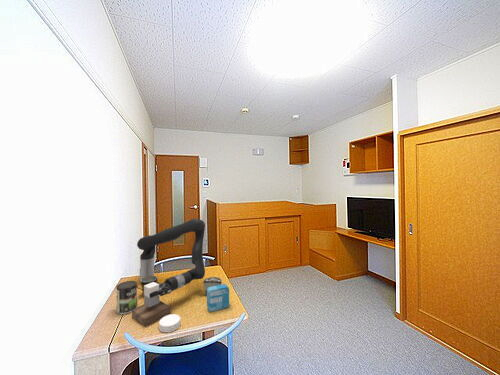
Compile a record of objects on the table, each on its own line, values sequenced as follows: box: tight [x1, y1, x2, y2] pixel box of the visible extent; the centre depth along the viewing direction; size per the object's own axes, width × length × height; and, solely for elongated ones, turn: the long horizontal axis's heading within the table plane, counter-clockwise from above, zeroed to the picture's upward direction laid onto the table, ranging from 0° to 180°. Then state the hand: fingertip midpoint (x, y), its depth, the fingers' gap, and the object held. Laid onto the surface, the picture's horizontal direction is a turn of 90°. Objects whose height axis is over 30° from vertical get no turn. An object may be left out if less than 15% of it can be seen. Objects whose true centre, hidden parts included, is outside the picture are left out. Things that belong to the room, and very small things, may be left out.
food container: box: [202, 276, 223, 297], centre depth 140 cm, size 12×6×10 cm, turn 84°
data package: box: [206, 283, 230, 313], centre depth 123 cm, size 12×4×12 cm, turn 115°
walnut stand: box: [131, 299, 172, 328], centre depth 117 cm, size 14×14×4 cm
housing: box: [143, 282, 160, 307], centre depth 117 cm, size 6×6×10 cm
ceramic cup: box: [137, 275, 158, 296], centre depth 139 cm, size 13×10×10 cm
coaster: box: [158, 313, 182, 333], centre depth 108 cm, size 10×10×4 cm
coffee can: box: [115, 280, 138, 315], centre depth 123 cm, size 10×10×14 cm
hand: (147, 294), depth 115 cm, fingers closed on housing, 5 cm apart
